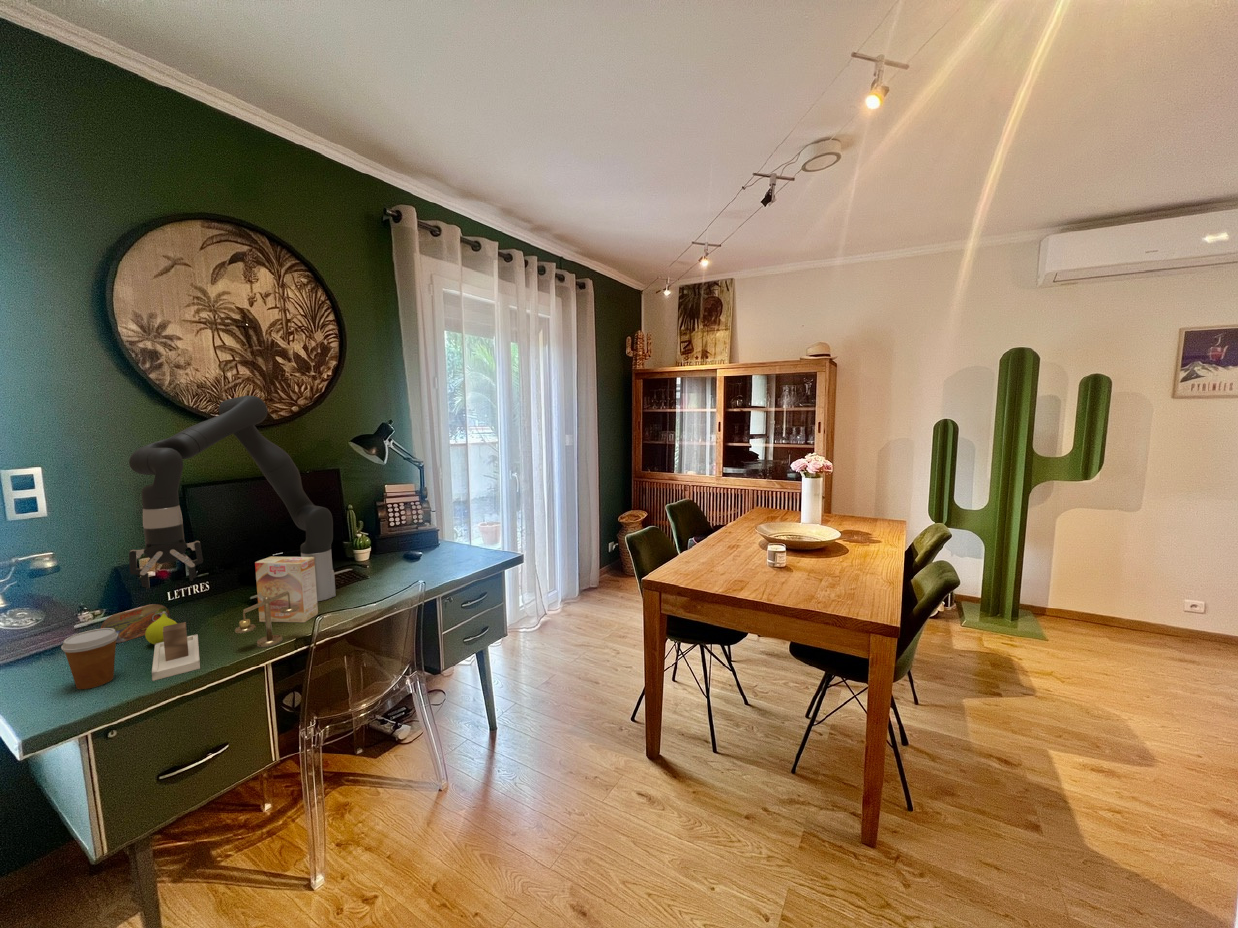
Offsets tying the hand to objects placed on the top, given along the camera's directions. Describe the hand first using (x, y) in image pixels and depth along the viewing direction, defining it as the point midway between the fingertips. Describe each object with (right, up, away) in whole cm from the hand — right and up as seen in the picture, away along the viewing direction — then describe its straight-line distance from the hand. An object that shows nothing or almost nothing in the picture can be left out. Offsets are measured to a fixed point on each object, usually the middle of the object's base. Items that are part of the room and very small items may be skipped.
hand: (169, 584), depth 131 cm
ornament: (-12, -20, +11) cm, 26 cm away
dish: (0, -21, +2) cm, 21 cm away
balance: (+18, -20, +12) cm, 29 cm away
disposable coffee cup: (-10, -22, -9) cm, 26 cm away
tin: (-25, -20, +16) cm, 36 cm away
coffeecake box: (+12, -18, +29) cm, 36 cm away
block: (0, -20, +2) cm, 20 cm away
